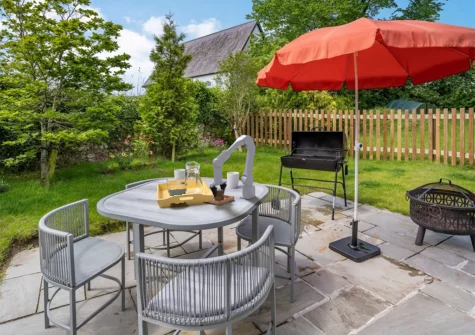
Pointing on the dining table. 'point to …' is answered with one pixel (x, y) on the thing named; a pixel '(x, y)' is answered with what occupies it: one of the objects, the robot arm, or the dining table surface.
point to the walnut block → (219, 195)
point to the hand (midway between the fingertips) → (218, 195)
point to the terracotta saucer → (226, 200)
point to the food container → (177, 192)
